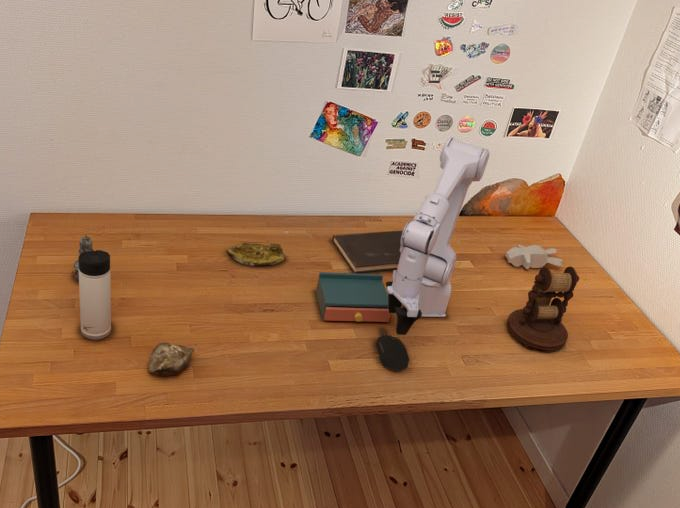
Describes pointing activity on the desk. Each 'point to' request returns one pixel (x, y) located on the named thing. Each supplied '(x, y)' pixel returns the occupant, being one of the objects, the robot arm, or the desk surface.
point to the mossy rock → (256, 254)
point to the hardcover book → (370, 250)
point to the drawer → (356, 314)
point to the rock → (169, 358)
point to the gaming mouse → (392, 352)
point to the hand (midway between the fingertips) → (397, 322)
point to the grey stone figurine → (84, 246)
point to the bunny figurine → (532, 256)
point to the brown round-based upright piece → (544, 310)
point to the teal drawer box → (351, 290)
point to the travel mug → (95, 294)
